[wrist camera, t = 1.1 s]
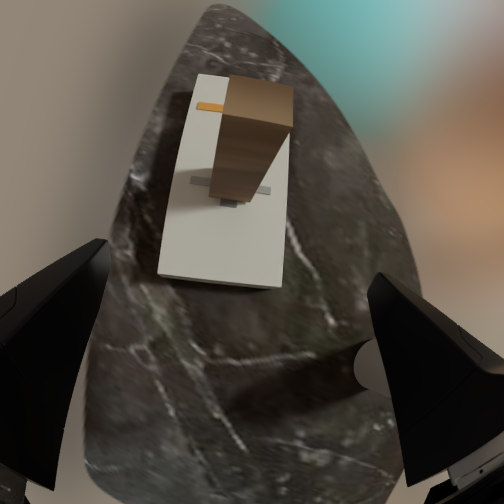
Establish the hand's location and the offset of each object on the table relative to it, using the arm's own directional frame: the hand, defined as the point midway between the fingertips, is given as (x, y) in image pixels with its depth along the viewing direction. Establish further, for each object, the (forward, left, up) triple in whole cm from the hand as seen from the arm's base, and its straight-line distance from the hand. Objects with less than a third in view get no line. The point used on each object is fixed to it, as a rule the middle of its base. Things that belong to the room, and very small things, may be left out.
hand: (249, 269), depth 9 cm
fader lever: (+8, 0, -11) cm, 13 cm away
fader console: (+10, 0, -13) cm, 17 cm away
